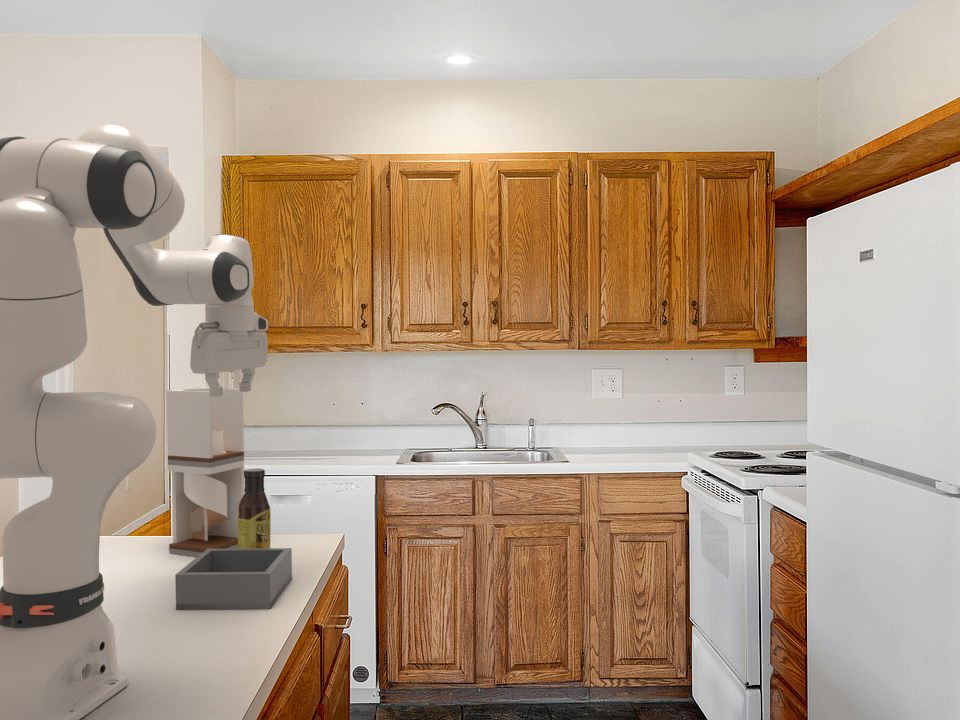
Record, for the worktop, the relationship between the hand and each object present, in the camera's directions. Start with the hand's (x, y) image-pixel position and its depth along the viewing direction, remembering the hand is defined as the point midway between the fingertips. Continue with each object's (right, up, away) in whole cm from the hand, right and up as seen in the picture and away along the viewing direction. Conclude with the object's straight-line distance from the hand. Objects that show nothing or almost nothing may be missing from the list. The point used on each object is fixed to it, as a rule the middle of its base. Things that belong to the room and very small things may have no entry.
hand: (231, 394), depth 147 cm
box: (+4, -36, -9) cm, 37 cm away
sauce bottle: (+3, -35, +6) cm, 36 cm away
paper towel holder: (-12, -35, +20) cm, 42 cm away
